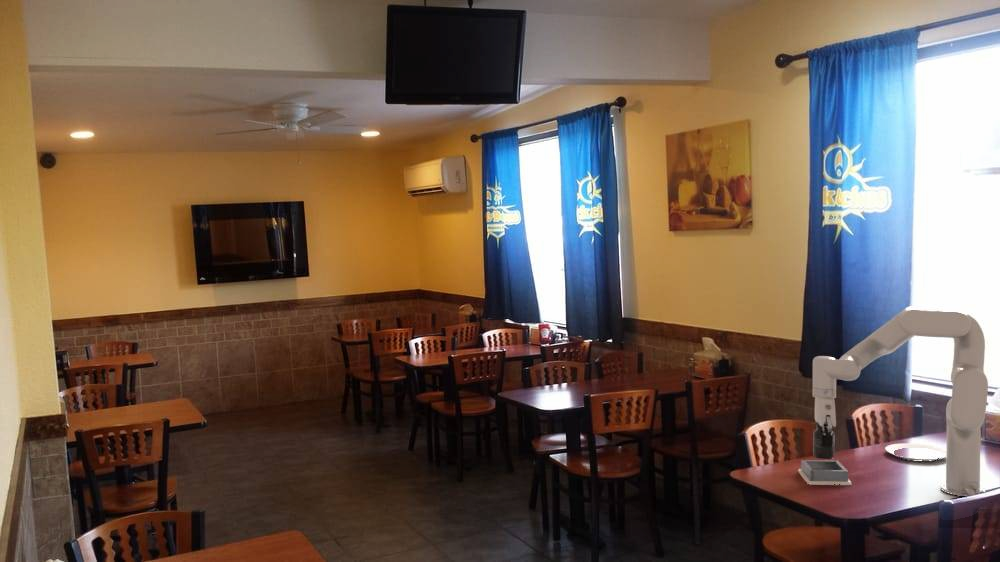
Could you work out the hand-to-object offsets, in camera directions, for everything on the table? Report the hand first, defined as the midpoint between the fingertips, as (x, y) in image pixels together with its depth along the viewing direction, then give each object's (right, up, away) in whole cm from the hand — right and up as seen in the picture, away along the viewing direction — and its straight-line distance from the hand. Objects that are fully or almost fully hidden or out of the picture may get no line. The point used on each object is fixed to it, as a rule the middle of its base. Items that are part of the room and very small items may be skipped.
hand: (823, 443), depth 278 cm
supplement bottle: (0, -5, 0) cm, 5 cm away
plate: (+44, -10, +23) cm, 51 cm away
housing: (0, -12, +1) cm, 12 cm away
